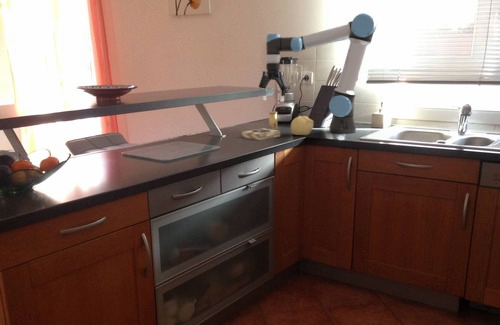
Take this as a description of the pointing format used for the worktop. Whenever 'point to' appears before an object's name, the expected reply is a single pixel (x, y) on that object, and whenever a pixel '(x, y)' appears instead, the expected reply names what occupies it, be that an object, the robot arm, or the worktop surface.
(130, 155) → the worktop surface
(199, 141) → the worktop surface
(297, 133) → the pale yellow round lump
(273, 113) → the bushing
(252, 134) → the jig
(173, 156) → the worktop surface
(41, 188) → the worktop surface
